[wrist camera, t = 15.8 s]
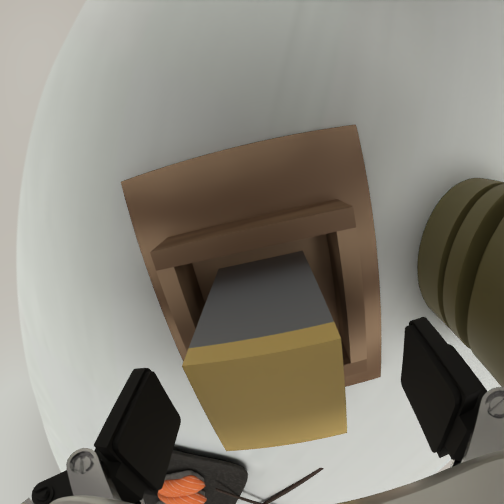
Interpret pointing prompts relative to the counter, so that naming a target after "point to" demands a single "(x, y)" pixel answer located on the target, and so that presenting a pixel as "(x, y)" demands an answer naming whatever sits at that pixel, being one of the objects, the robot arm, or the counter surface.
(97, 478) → the robot arm
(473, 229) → the piston
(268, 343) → the gold and gray block
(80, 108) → the counter surface
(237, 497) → the sushi plate
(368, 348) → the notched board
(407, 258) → the counter surface
